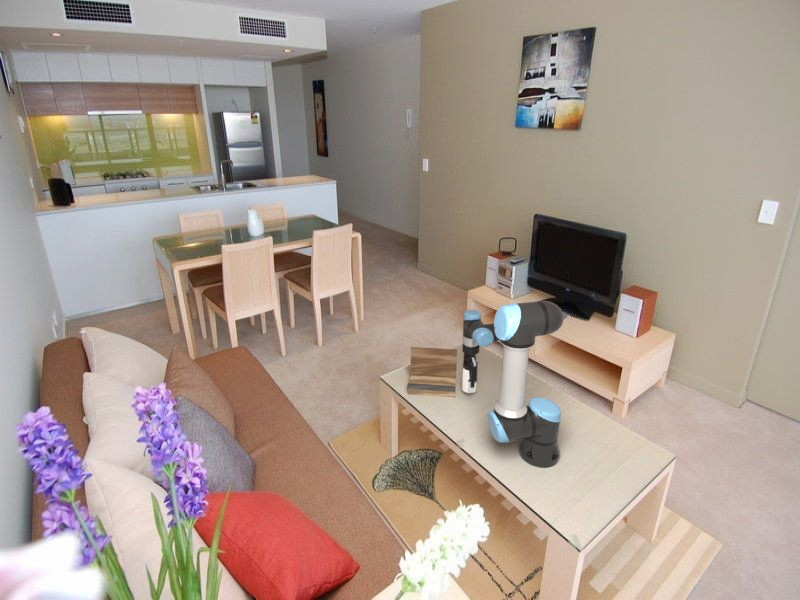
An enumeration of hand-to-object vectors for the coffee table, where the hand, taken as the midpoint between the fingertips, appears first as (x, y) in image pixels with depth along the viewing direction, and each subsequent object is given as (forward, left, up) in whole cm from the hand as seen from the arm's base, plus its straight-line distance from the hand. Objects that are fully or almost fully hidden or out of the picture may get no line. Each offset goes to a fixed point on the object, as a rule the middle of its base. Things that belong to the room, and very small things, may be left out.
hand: (469, 387), depth 214 cm
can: (0, 0, -1) cm, 1 cm away
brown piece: (+5, +17, -4) cm, 18 cm away
